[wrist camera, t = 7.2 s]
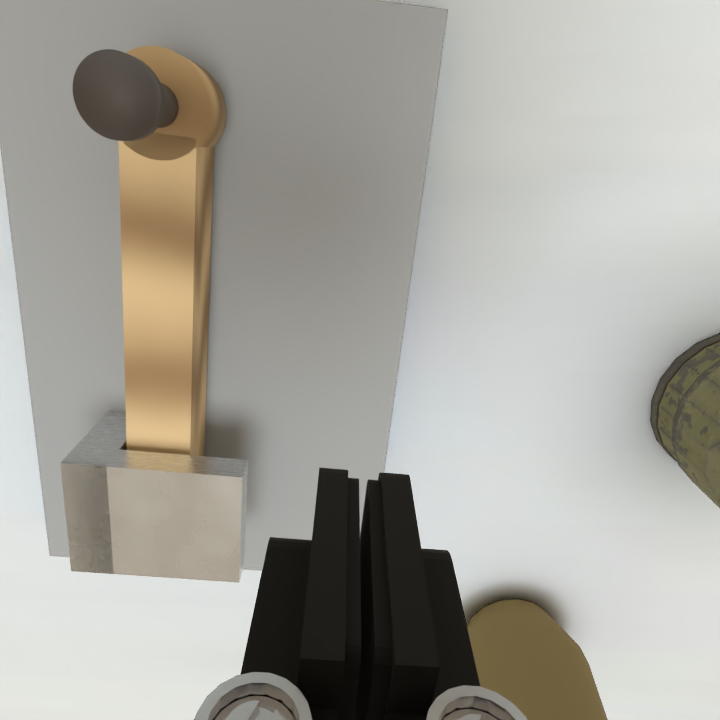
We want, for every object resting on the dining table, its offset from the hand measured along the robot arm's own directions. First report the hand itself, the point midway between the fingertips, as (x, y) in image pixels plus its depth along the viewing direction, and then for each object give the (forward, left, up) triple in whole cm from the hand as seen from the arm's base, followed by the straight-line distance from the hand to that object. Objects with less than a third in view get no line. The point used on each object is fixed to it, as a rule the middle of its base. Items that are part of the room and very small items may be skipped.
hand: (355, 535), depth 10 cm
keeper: (+11, -8, -18) cm, 23 cm away
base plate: (+2, -7, -20) cm, 21 cm away
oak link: (+2, -8, -18) cm, 20 cm away
